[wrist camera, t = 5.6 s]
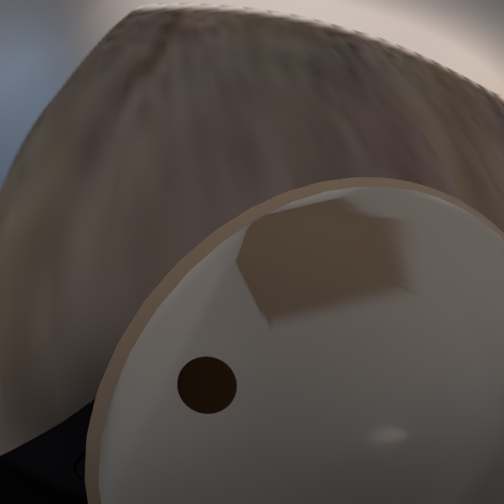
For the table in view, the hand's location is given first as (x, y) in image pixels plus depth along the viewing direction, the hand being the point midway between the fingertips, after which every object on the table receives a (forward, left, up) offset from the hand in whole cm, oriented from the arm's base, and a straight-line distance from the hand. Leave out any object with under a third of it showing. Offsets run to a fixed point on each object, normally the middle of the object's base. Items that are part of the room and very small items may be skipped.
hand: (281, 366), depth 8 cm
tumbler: (-1, -1, -7) cm, 7 cm away
